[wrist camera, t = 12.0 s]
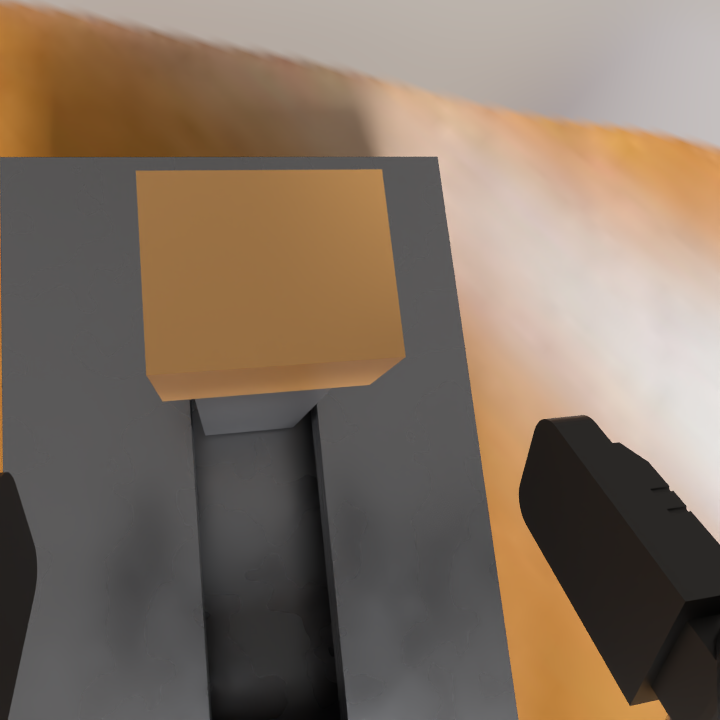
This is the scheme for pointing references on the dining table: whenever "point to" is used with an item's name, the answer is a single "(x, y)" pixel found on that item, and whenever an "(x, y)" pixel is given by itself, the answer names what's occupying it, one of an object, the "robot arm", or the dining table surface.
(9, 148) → the dining table surface
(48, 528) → the breaker box
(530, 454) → the robot arm
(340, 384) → the handle
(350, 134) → the dining table surface
